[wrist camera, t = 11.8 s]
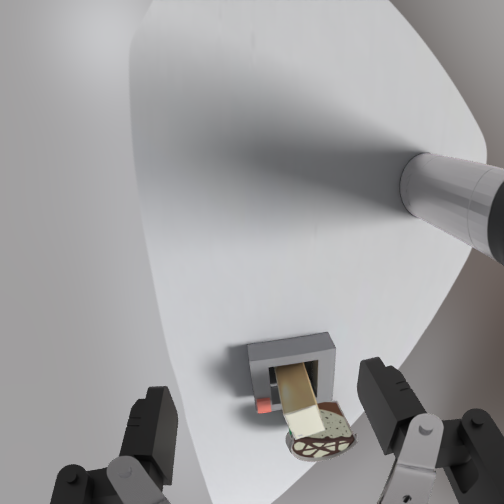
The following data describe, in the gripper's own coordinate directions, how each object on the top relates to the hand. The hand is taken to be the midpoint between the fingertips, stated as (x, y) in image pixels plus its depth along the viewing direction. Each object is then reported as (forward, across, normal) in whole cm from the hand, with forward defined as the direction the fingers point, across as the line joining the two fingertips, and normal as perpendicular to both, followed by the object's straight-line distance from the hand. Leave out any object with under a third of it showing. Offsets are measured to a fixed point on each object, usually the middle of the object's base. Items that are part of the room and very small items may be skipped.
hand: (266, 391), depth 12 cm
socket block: (+28, -5, +24) cm, 37 cm away
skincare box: (+28, -5, +24) cm, 37 cm away
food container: (+28, -8, +36) cm, 46 cm away
